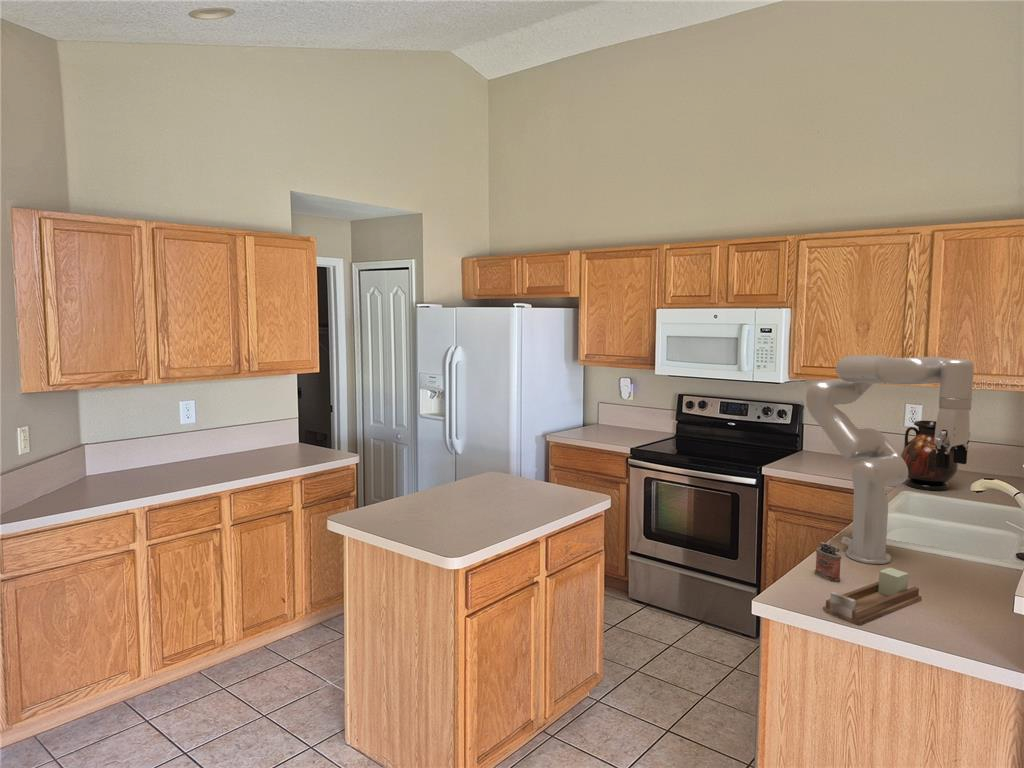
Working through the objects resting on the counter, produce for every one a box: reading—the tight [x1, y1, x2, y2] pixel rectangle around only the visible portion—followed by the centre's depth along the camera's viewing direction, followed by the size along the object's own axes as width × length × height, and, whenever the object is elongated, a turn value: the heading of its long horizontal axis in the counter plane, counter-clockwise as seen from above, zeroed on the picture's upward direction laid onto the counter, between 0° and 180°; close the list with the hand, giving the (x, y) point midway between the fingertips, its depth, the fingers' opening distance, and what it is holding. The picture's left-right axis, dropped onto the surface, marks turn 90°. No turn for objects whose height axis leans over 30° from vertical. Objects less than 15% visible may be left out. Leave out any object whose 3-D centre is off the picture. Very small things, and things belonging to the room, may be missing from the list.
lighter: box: [814, 541, 842, 583], centre depth 201 cm, size 8×3×10 cm, turn 23°
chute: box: [822, 580, 922, 626], centre depth 183 cm, size 10×28×6 cm, turn 121°
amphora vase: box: [900, 420, 959, 492], centre depth 299 cm, size 22×22×28 cm
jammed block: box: [878, 567, 909, 596], centre depth 187 cm, size 5×5×6 cm
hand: (951, 465), depth 192 cm, fingers open, 9 cm apart
